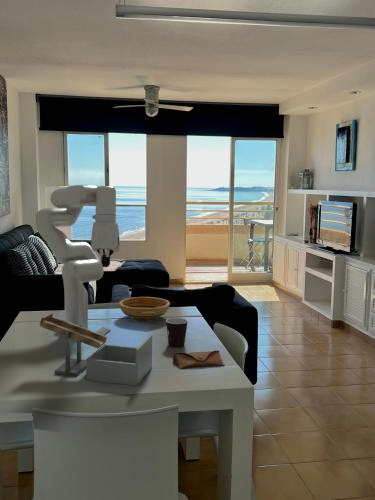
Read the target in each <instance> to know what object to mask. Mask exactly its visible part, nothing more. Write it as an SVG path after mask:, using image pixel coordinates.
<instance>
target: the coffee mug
mask: <svg viewBox="0 0 375 500" xmlns="http://www.w3.org/2000/svg"><path fill="white" fill-rule="evenodd" d="M165 325H166V334H167V343H168V346H169V347H170V348H173V347H174V348H175V349H179V348H183V347H185V342H186V336H187V329H188V319H186V318H182V317H181V318H180V317H171V318H168V319H166V320H165Z"/></svg>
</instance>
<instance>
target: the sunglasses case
mask: <svg viewBox="0 0 375 500" xmlns="http://www.w3.org/2000/svg"><path fill="white" fill-rule="evenodd" d="M172 362H173V364H174V365H175V366H176V367H177V368H178V370H184V369H185V370H186V369H194V368H195V369H196V368H197V369H198V368H210V367H211V368H212V367H225V366H226V365H225V364H224V362H223V359H222V357H221V354H220V351H219V350H212V351H194V352H175V353H174V354H173V355H172Z"/></svg>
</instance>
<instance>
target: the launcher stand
mask: <svg viewBox="0 0 375 500" xmlns="http://www.w3.org/2000/svg"><path fill="white" fill-rule="evenodd" d="M78 326H80V327H81V325H78ZM64 341H65V342H64V344H65V345H64V346H65V347H64V353H65V354H64V357H65V358H64V359H65V362H64V363H62V364H61V365H60V366H58V367H57V368H56V369H55V370H54V375H62V376H69V377H78V376H79V375H80V374H81V373H83V372H84V371H86V359H82V342H80V341H77V340H76V358H72V357H71V338H70V332H66V333H65V337H64Z"/></svg>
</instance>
